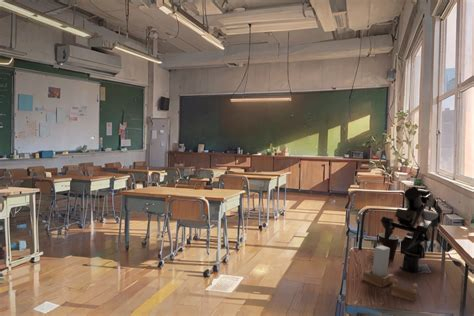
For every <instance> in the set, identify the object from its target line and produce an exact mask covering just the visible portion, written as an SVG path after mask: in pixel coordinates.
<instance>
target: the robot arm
mask: <svg viewBox="0 0 474 316" xmlns="http://www.w3.org/2000/svg"><path fill="white" fill-rule="evenodd" d="M403 194H404V195H403V196H404V199H405V203H406V205H407V208H406V209H400V208H397V209H396V212H395V215H394V217H396V218H397V220H396V221H397V222H396V221H394V219H393V218H392V217H389V216H382V217H381V219H380V224H382V226H383V229H384V233H385V236H384V242H386V241H387V240H388V239H389V237H390V236H391V234H393V233H394V230H395V228H396V229H400V230H403V231H407V232H406V234H405V236H404V238H403V239H401V241H400V245H399V247H400V251H399V252H400V254H401V255H404V257H403V261H402V265H400V266H399V269H402V270H404V271H407V272H409V273H412V274H414V273H415V274H416V273H419V272H422V271H423V270H422V268H420V261H421V260H423V259H424V260H425V258H426V248H425V245H424V242H429V241H430V240H431V239H432V234H431V232H430V231H431V229H432V228H438V227H439V225H440V224H441V223H442V222H443V209H442V208H441V206H440V205H439V200H438V199H436V198H434V197H433V195H432V192H431V191H430V190H428V189H421V188H419V187H418V186H414V185H413V186H411V188H408V189H406V190H405V191H404V193H403ZM426 207H429V208H433V209H434V211H433V210H427V209H426ZM419 219H420V220H421V221H420V220H419ZM416 225H417V226H416Z"/></svg>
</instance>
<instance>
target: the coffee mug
mask: <svg viewBox="0 0 474 316" xmlns="http://www.w3.org/2000/svg"><path fill="white" fill-rule="evenodd" d="M384 236H385V232H384V233H383V232H382V233H378V234H377V235H376V242H377V244H378V246H381V245H382V246H385V247H388V248H390V253H389V261H393V260H395V255H396V252H397V248H398V245H399V241H400V237H399V236H398V235H395V234H393V233H392V234H391V236H390V237H389V239H388V240H387V241H386V242H384Z"/></svg>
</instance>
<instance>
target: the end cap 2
mask: <svg viewBox="0 0 474 316" xmlns="http://www.w3.org/2000/svg"><path fill="white" fill-rule="evenodd" d="M398 284H399V279H396V278H394V279H393V283H392V286H391V293H390V295H391V296H393V297H397V298H400V299H405V300H408V301H412V302H416V295H417V290H418V284H417V283H413V284H412V289H408V288H404V287H400V286H399V285H398Z"/></svg>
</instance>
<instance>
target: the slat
mask: <svg viewBox="0 0 474 316" xmlns="http://www.w3.org/2000/svg"><path fill="white" fill-rule="evenodd" d="M389 253H390V248H388V247H385V246H382V245H381V246H379V245H378V246H375V247H374V254H373V261H372V262H373V263H372V269H373V271H372V274H374V275H376V276H379V277H384V276H386V275H388V268H389V261H390V260H389Z"/></svg>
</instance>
